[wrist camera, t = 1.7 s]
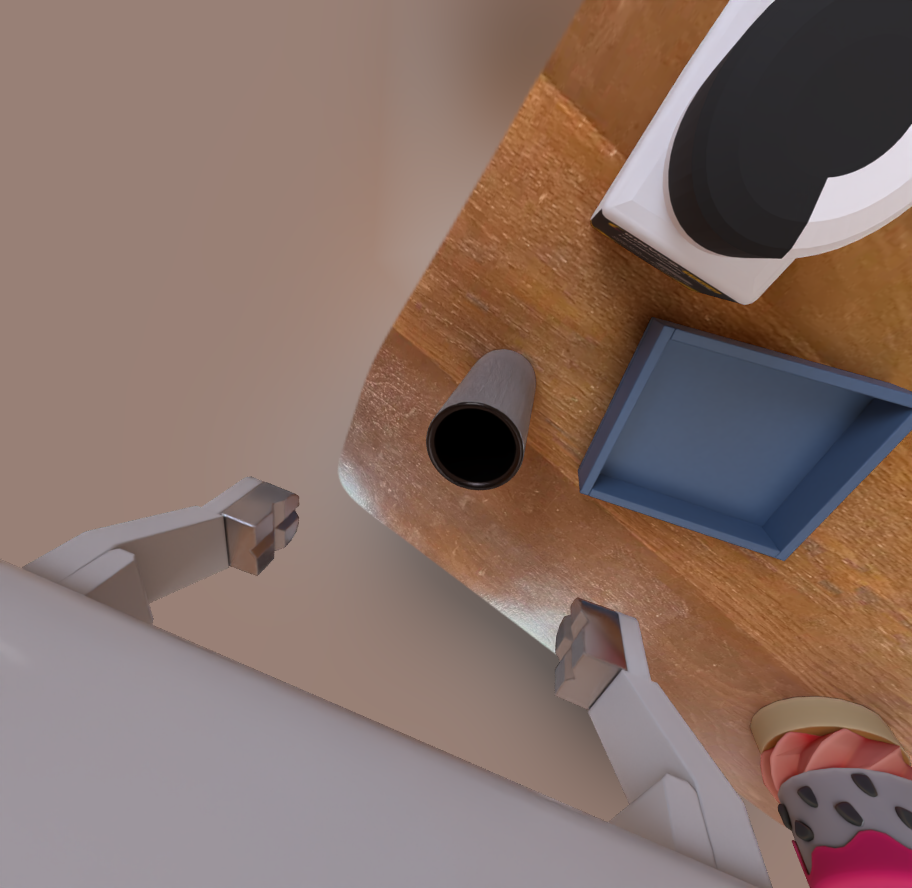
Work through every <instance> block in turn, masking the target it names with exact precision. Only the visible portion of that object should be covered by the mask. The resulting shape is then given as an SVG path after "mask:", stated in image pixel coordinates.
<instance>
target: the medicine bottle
mask: <svg viewBox="0 0 912 888" xmlns="http://www.w3.org/2000/svg"><path fill="white" fill-rule="evenodd" d="M911 206H912V0H730V1H729V2H728V4H727V5H726V7H725V8H724V10H723V11H722V13H721V14H720V16H719V17H718V19H717V20H716V22H715V23H714V25H713V26H712V28H711V29H710V30H709V32H708V33H707V35H706V36H705V38H704V39H703V41H702V42H701V44H700V45H699V47H698V48H697V50H696V51H695V53H694V54H693V56H692V57H691V59H690V60H689V62H688V63H687V65H686V66H685V68H684V69H683V71H682V72H681V74H680V76H679V77H678V79H677V80H676V82H675V84H674V85H673V87H672V88H671V90H670V92H669V93H668V95H667V96H666V98H665V100H664V101H663V103H662V104H661V106H660V108H659V109H658V111H657V112H656V114H655V116H654V117H653V119H652V120H651V122H650V124H649V125H648V127H647V129H646V130H645V132H644V133H643V135H642V137H641V138H640V140H639V141H638V143H637V145H636V146H635V148H634V149H633V151H632V153H631V154H630V156H629V157H628V159H627V161H626V162H625V164H624V165H623V167H622V169H621V170H620V172H619V173H618V175H617V177H616V178H615V180H614V182H613V183H612V185H611V186H610V188H609V190H608V191H607V193H606V194H605V196H604V198H603V199H602V201H601V202H600V204H599V206H598V207H597V209H596V210H595V212H594V214H593V215H592V217H591V220H590V225H591V226H592V227H593V228H594V229H596V230H597V231H599V232H600V233H602V234H604V235H605V236H607V237H608V238H610V239H611V240H613V241H614V242H616V243H618V244H619V245H621V246H622V247H624V248H625V249H627V250H629V251H630V252H632V253H633V254H635V255H636V256H638V257H640V258H641V259H643V260H644V261H646V262H647V263H649V264H651V265H652V266H654V267H655V268H657V269H658V270H660V271H661V272H663V273H665V274H666V275H668V276H669V277H671V278H672V279H674V280H676V281H677V282H679V283H680V284H682V285H683V286H685V287H687V288H688V289H690V290H692V291H696V292H699V293H703V294H707V295H710V296H714V297H718V298H721V299H725V300H729V301H732V302H736V303H740V304H743V305H747V304H751V303H753V302H754V301H756V300H757V299H758V298H759V297H760V296H761V295H762V294H763V293H764V292H765V291H766V289H767V288H768V287H769V286H770V285H771V284H772V283H773V282H774V281H775V280H776V279H777V278H778V277H779V276H780V275H781V274H782V272H783V271H784V270H785V269H786V268H787V267H788V266H789V265H790V264H791V263H792V262H793V261H794V260H795V259H796V258H801V257H807V256H812V255H818V254H821V253H825V252H828V251H832V250H835V249H838V248H841V247H843V246H845V245H848V244H850V243H853V242H855V241H858V240H859V239H861V238H863V237H865V236H867V235H869V234H871V233H873V232H875V231H877V230H878V229H880V228H881V227H883V226H885V225H886V224H888V223H889V222H891V221H892V220H894V219H895V218H897V217H898V216H900V215H901V214H902V213H903V212H905V211H906V210H907V209H909V208H910V207H911Z"/></svg>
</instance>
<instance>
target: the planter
mask: <svg viewBox="0 0 912 888" xmlns="http://www.w3.org/2000/svg"><path fill="white" fill-rule="evenodd" d="M535 389H536V377H535V372H534V370H533V367H532V366H531V364H530V363H529V361H528V360H527V359H526V358H525V357H524V356H522V355H521V354H519V353H517V352H515V351H512V350H506V349H500V350H494V351H491V352H489V353H487V354H485V355H484V356H482V357H481V358H480V359H479V360H478V361H477V362H476V363H475V365H474V366H473V367H472V368H471V370H470V371H469V372H468V374H467V375H466V376H465V378H464V379H463V380H462V382H461V383H460V384H459V385H458V387H457V388H456V389H455V391H454V392H453V393H452V395H451V396H450V397H449V399H448V400H447V401H446V402H445V404H444V405H443V406H442V408H441V409H440V410H439V412H438V413H437V414H436V416H435V417H434V418H433V420H432V422H431V423H430V425H429V428H428V431H427V436H426V446H427V451H428V455H429V458H430V460H431V462H432V464H433V465H434V467H435V468H436V469H437V471H438V472H439V473H440V474H441V475H442V476H443V477H444V478H446V479H447V480H448V481H450V482H452V483H453V484H455V485H457V486H460V487H463V488H466V489H471V490H489V489H493V488H497V487H499V486H501V485H503V484H505V483H507V482H508V481H509V480H510V479H512V478H513V477H514V476H515V474H516V473H517V472H518V470H519V468H520V466H521V464H522V461H523V457H524V452H525V447H526V441H527V435H528V429H529V424H530V418H531V412H532V406H533V400H534V395H535Z"/></svg>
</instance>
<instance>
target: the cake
mask: <svg viewBox="0 0 912 888" xmlns="http://www.w3.org/2000/svg"><path fill="white" fill-rule="evenodd" d="M750 728H751V731H752V734H753V736H754V739H755V741H756V744H757V746H758V749H759V751H760V754H761V765H760V768H761V772H762V777H763V781H764V784H765V786H766V787H767V788H768V790H769V791H770V792H771V794H772V795H773V796H774V798H775V799H776V800H777V801H778V802H779V803H780V804H779V805H778V811H779V814H780V816H781V818H782V820H783V823H784V824H785V826H786V827H787V828H788V829H790V830H791V831H792V833H793V836H794V838H795V841H794V840H792V843H793V846H794V848H795V851H796V853H797V856H798V858H799V861H800V863H801V866H802V869H803V871H804V874H805V876H806V879H807V881H808V884H809V886H810V888H912V767H911V763H910V757H909V755H908V754H907V752H906V751H905V750H904V748H903V747H902V745H901V744H900V742H899V741H898V740H897V738H896V737H895V735H894V734H893V732H892V731H891V729H890V728H889V727H888V725H887V724H886V723H885V722H884V721H883V720H882V718H881V717H880V716H879V715H878V714H876V713H874V712H873V711H871V710H869V709H867V708H865V707H864V706H862V705H858V704H855V703H852V702H848V701H845V700H842V699H834V698H826V697H795V698H790V699H785V700H781V701H776V702H774V703H772V704H770V705H768V706H765V707H763V708H761V709H760V710H759V711H758V712H757V713H756V714H755V715H754V716H753V717H752V721H751V725H750Z"/></svg>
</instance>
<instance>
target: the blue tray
mask: <svg viewBox="0 0 912 888" xmlns="http://www.w3.org/2000/svg"><path fill="white" fill-rule="evenodd" d="M911 430H912V392H911V391H909V390H906V389H904V388H901V387H899V386H896V385H894V384H891V383H887V382H884V381H880V380H877V379H873V378H869V377H866V376H862V375H859V374H855V373H852V372H848V371H844V370H841V369H837V368H834V367H830V366H826V365H823V364H819V363H816V362H812V361H809V360H805V359H801V358H798V357H794V356H791V355H787V354H783V353H780V352H776V351H773V350H769V349H766V348H762V347H758V346H755V345H751V344H748V343H744V342H740V341H737V340H733V339H730V338H726V337H723V336H719V335H715V334H712V333H708V332H705V331H701V330H697V329H694V328H690V327H687V326H683V325H680V324H676V323H672V322H669V321H665V320H662V319H658V318H654V317H652V318H651V320H650V322H649V324H648V326H647V328H646V330H645V332H644V334H643V336H642V338H641V340H640V342H639V345H638V347H637V349H636V351H635V353H634V355H633V357H632V359H631V361H630V363H629V365H628V367H627V369H626V371H625V374H624V376H623V378H622V380H621V382H620V384H619V386H618V388H617V390H616V392H615V394H614V396H613V398H612V400H611V403H610V405H609V407H608V409H607V411H606V413H605V415H604V417H603V419H602V421H601V423H600V425H599V427H598V429H597V432H596V434H595V436H594V438H593V440H592V442H591V444H590V446H589V448H588V450H587V452H586V454H585V456H584V458H583V461H582V463H581V465H580V467H579V469H578V477H579V488H580V493H582V494H585V495H589V496H591V497H594V498H597V499H600V500H603V501H606V502H609V503H612V504H615V505H618V506H621V507H624V508H627V509H630V510H633V511H636V512H639V513H642V514H645V515H648V516H651V517H654V518H657V519H660V520H663V521H666V522H669V523H672V524H675V525H678V526H681V527H684V528H687V529H690V530H693V531H696V532H699V533H702V534H705V535H708V536H711V537H714V538H717V539H720V540H723V541H726V542H729V543H732V544H735V545H738V546H741V547H744V548H747V549H750V550H753V551H756V552H759V553H762V554H765V555H768V556H771V557H775V558H777V559H780V560H783V561H785V560H786V559H787V558H788V557H789V556H790V555H791V554H792V553H793V552H794V551H795V550H796V549H797V548H798V547H799V545H800V544H801V543H802V542H803V541H804V540H805V539H806V538H807V537H808V536H809V535H810V534H811V533H812V532H813V531H814V530H815V529H816V528H817V527H818V526H819V525H820V524H821V523H822V522H823V521H824V520H825V519H826V518H827V517H828V516H829V515H830V514H831V513H832V512H833V510H834V509H835V508H836V507H837V506H838V505H839V504H840V503H841V502H842V501H843V500H844V499H845V498H846V497H847V496H848V495H849V494H850V493H851V492H852V491H853V490H854V489H855V488H856V487H857V486H858V485H859V484H860V483H861V482H862V481H863V480H864V479H865V478H866V477H867V476H868V474H869V473H870V472H871V471H872V470H873V469H874V468H875V467H876V466H877V465H878V464H879V463H880V462H881V461H882V460H883V459H884V458H885V457H886V456H887V455H888V454H889V453H890V452H891V451H892V450H893V449H894V448H895V447H896V446H897V445H898V444H899V443H900V442H901V441H902V440H903V438H904V437H905V436H906V435H907V434H908V433H909V432H910V431H911Z"/></svg>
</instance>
